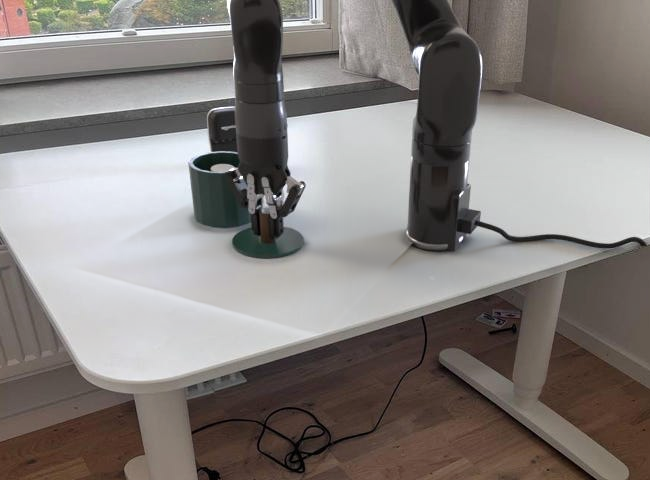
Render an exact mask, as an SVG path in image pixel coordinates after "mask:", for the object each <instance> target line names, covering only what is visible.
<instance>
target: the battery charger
mask: <svg viewBox="0 0 650 480" xmlns="http://www.w3.org/2000/svg"><path fill="white" fill-rule="evenodd" d="M206 127H207V137H208V145H209V150H210V151H209V152H218V151H229V152H238V150H237V138H236V124H235V106H223V107H216V108H212V109H210V110H209V111H208V112H207V114H206Z"/></svg>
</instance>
